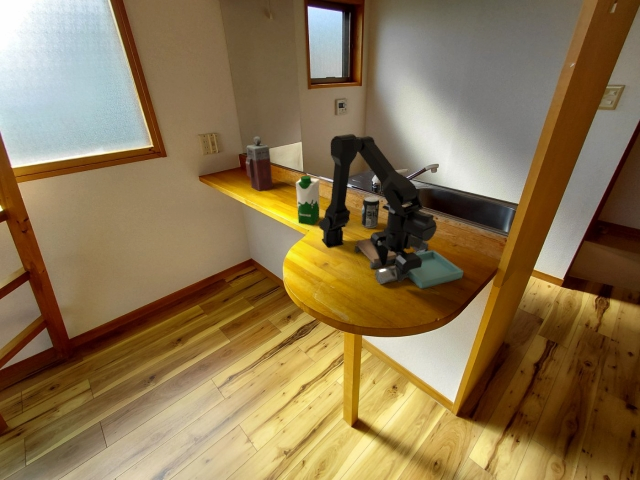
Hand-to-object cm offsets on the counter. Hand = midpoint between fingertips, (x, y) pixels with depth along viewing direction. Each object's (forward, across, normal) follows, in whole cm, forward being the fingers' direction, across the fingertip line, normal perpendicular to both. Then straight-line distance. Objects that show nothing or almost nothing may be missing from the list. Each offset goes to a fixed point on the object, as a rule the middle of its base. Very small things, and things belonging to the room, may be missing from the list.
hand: (391, 273), depth 91 cm
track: (+2, +13, -7) cm, 15 cm away
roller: (0, 0, 0) cm, 0 cm away
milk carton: (+2, +50, +10) cm, 51 cm away
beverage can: (+2, +36, -12) cm, 38 cm away
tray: (+2, 0, -13) cm, 13 cm away
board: (+2, +13, -2) cm, 13 cm away
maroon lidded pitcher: (+2, +102, +22) cm, 104 cm away
